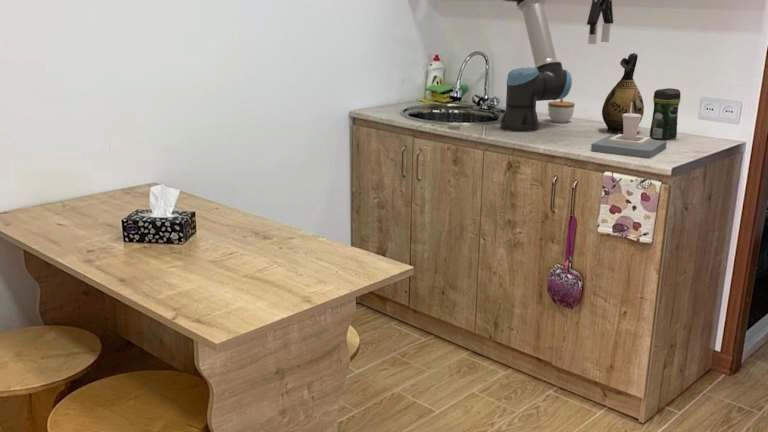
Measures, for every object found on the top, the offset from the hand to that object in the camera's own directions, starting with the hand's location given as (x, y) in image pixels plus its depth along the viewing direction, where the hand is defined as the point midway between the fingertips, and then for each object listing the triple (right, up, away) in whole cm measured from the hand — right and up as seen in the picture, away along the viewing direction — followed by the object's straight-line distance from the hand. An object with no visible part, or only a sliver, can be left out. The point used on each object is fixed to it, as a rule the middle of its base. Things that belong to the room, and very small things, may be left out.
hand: (598, 43), depth 277 cm
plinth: (+8, -39, -9) cm, 41 cm away
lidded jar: (-4, -23, +45) cm, 50 cm away
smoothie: (+8, -37, -10) cm, 39 cm away
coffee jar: (+27, -33, +11) cm, 44 cm away
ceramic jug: (+16, -29, +24) cm, 41 cm away
